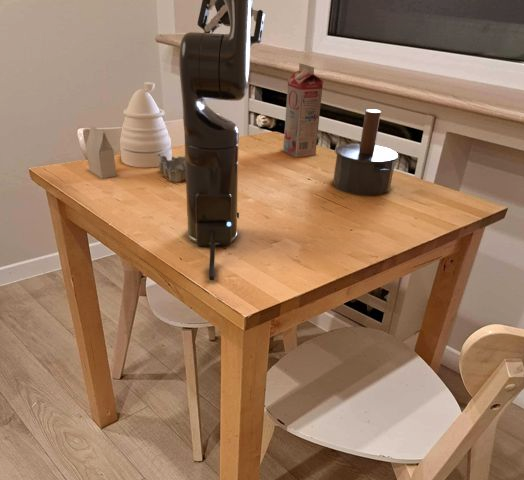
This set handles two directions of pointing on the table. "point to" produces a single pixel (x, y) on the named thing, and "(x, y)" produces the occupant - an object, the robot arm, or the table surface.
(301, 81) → the milk carton
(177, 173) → the egg carton
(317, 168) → the table surface
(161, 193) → the table surface
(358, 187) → the pot
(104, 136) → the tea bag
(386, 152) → the lid
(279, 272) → the table surface
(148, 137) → the honey pot
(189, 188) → the robot arm
